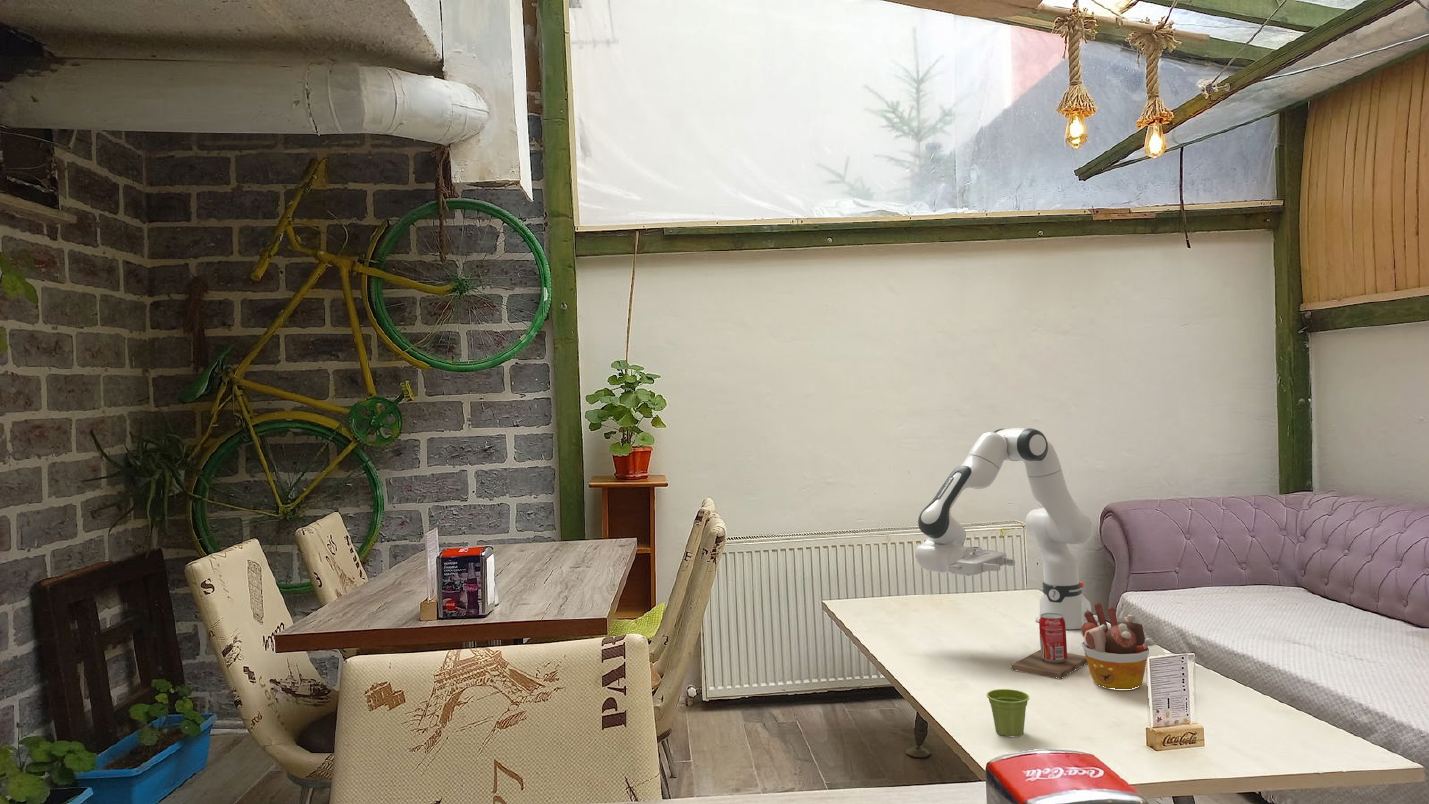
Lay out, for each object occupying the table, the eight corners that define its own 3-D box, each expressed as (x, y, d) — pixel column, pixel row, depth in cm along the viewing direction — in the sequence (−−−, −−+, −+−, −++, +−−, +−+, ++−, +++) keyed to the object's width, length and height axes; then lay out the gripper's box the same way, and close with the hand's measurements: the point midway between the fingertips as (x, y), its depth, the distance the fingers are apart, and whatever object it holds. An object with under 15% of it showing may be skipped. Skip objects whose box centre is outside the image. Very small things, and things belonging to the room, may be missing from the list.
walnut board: (1042, 653, 260) (1042, 648, 260) (1089, 661, 250) (1089, 656, 250) (1011, 669, 246) (1011, 664, 246) (1060, 679, 236) (1059, 673, 236)
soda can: (1073, 662, 245) (1070, 616, 245) (1051, 665, 243) (1049, 619, 243) (1056, 655, 252) (1054, 611, 252) (1035, 658, 250) (1033, 613, 250)
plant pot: (981, 726, 204) (980, 690, 204) (1020, 723, 205) (1018, 687, 205) (998, 741, 195) (996, 703, 195) (1038, 738, 195) (1036, 700, 195)
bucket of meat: (1166, 695, 220) (1162, 617, 220) (1101, 697, 220) (1097, 619, 220) (1129, 671, 240) (1126, 599, 240) (1070, 673, 240) (1066, 602, 240)
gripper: (946, 555, 259) (989, 560, 249) (979, 545, 273) (1021, 549, 264) (947, 576, 259) (990, 582, 249) (980, 565, 273) (1022, 570, 264)
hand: (1006, 565), depth 257 cm, fingers open, 8 cm apart
